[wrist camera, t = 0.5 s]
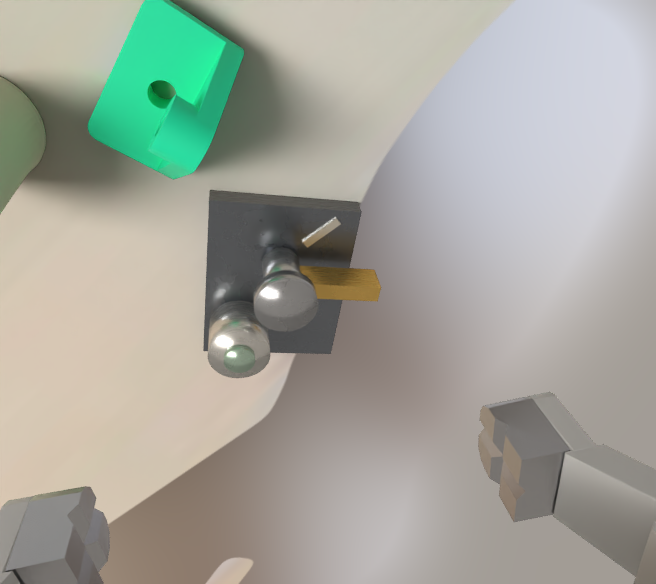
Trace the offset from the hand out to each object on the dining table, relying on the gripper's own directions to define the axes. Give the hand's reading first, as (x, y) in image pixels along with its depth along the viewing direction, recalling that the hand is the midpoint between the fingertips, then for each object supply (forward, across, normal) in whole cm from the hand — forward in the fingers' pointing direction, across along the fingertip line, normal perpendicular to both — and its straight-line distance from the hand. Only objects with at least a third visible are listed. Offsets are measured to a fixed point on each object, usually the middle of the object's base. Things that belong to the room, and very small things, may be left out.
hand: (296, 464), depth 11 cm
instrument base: (+42, -1, +18) cm, 46 cm away
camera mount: (+41, +5, -2) cm, 41 cm away
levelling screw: (+40, -5, +16) cm, 43 cm away
